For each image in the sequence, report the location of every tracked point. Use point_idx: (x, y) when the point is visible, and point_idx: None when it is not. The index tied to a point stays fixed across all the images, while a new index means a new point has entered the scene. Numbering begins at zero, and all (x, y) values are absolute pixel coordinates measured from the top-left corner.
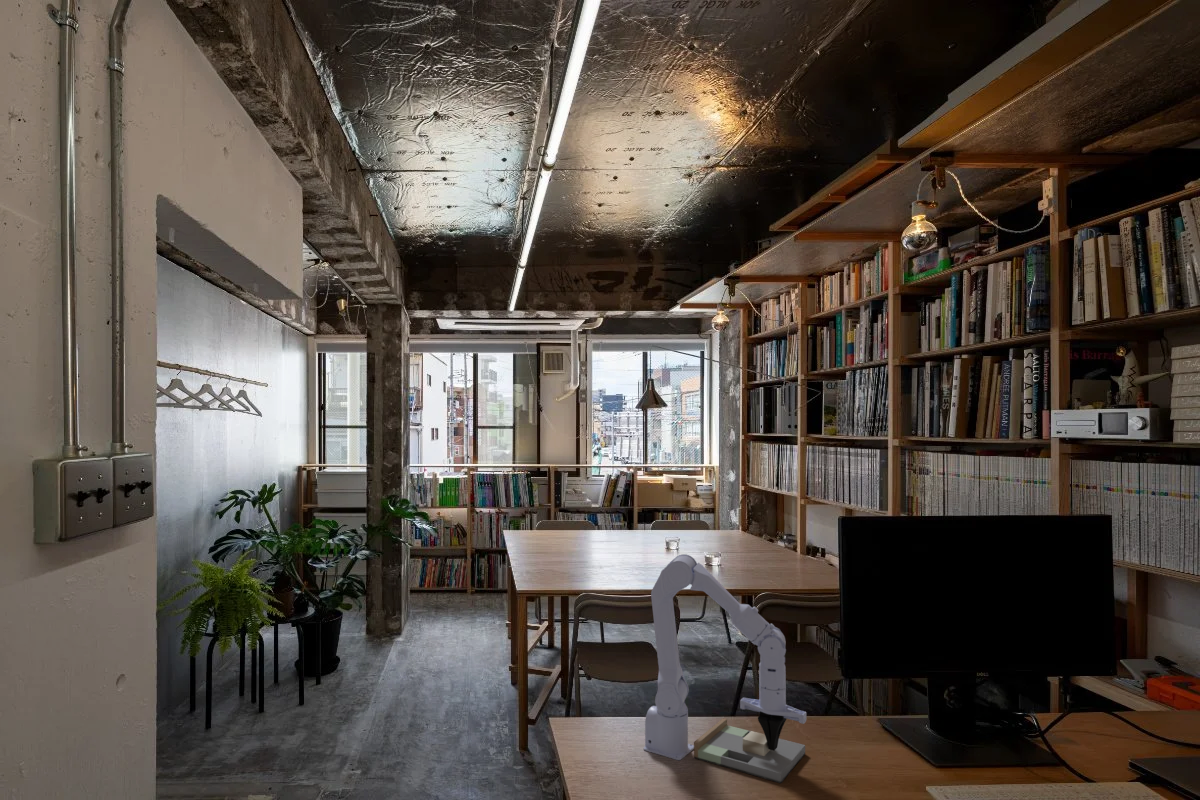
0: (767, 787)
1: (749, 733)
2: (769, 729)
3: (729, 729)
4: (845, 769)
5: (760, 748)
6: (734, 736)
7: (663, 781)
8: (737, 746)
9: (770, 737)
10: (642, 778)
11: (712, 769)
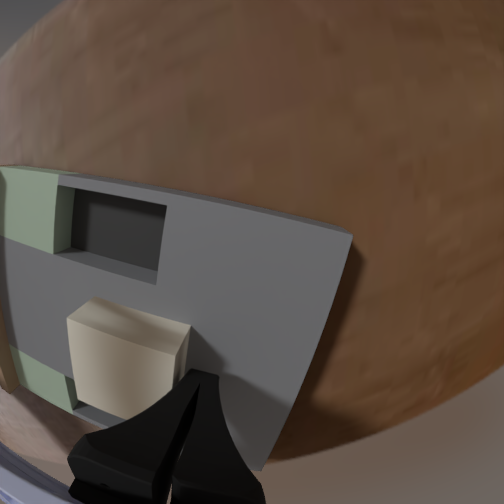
0: None
1: (73, 348)
2: (171, 479)
3: (8, 203)
4: (467, 293)
5: None
6: (34, 262)
7: (49, 444)
8: None
9: (183, 440)
10: (26, 434)
11: None
